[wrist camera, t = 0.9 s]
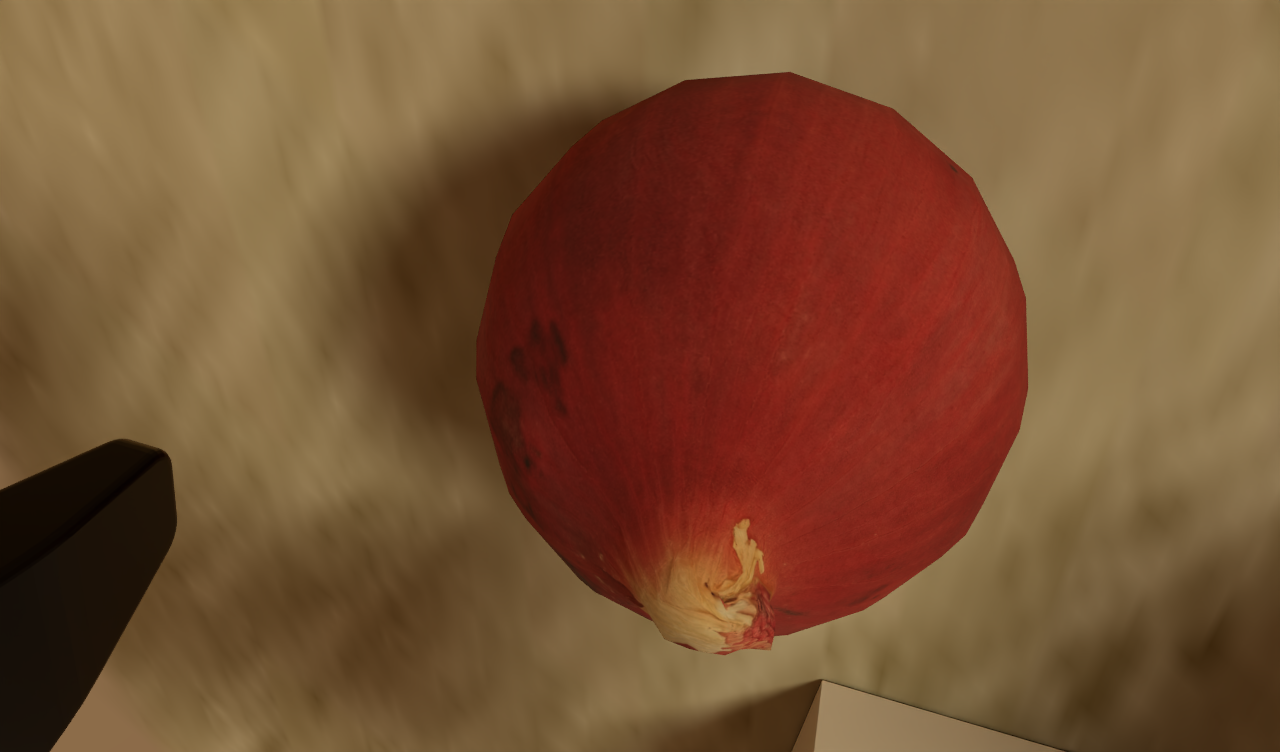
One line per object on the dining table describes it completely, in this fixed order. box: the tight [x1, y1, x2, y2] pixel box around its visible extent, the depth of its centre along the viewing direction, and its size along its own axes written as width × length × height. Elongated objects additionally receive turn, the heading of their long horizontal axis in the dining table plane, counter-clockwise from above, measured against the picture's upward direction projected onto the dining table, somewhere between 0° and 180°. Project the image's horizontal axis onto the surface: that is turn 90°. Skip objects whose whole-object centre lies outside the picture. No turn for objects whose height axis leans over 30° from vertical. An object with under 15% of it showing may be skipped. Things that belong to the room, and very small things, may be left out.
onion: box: [476, 72, 1028, 655], centre depth 13 cm, size 6×6×8 cm
